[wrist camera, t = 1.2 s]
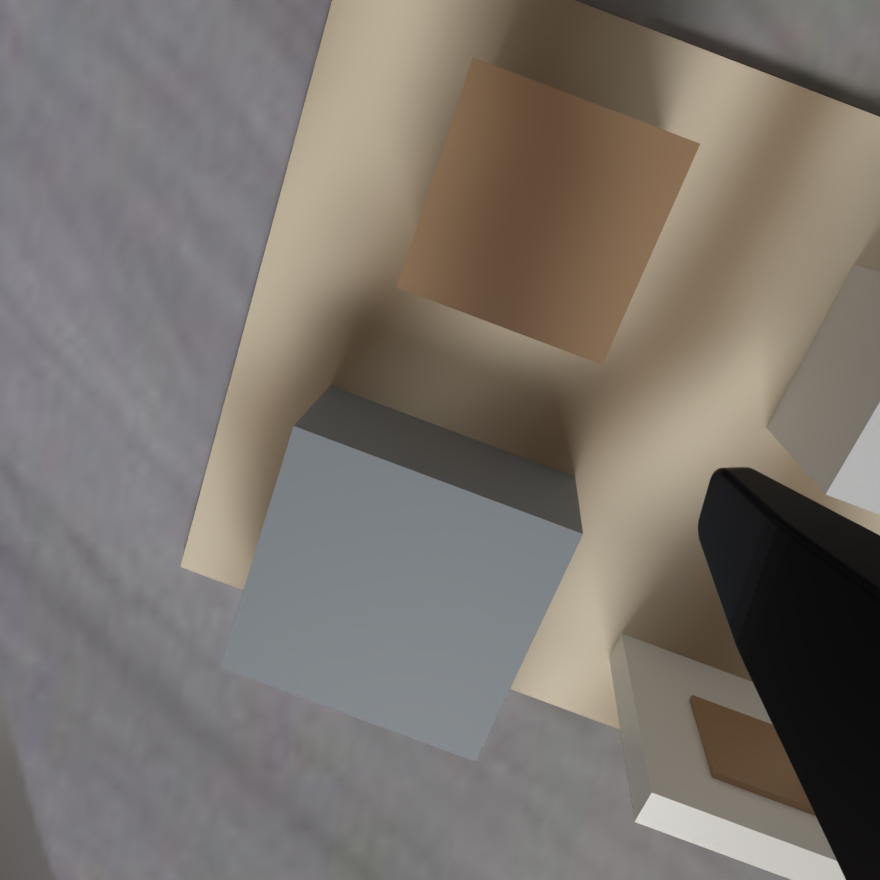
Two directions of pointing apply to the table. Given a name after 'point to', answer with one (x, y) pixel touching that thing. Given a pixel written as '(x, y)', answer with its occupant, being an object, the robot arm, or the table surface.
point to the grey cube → (839, 398)
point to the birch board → (536, 363)
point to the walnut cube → (543, 211)
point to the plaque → (712, 764)
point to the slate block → (402, 571)
